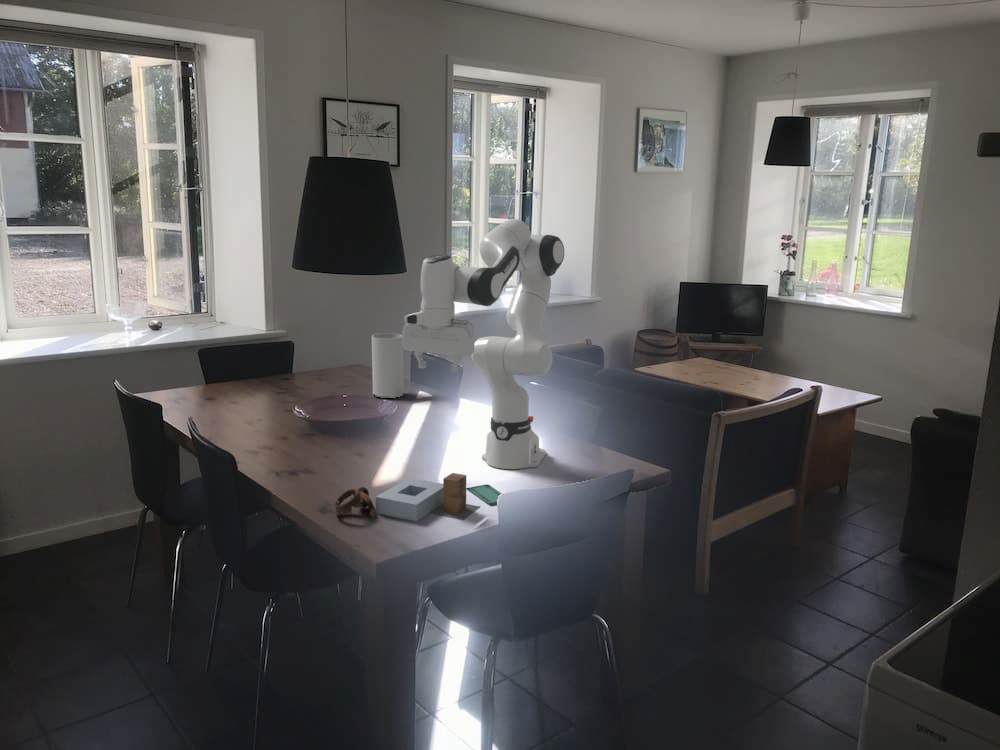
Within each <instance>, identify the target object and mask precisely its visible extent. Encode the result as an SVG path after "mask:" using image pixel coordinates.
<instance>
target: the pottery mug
mask: <svg viewBox="0 0 1000 750" xmlns="http://www.w3.org/2000/svg"><path fill="white" fill-rule="evenodd" d="M369 493H370V492H369V490H368V489H367V488H366V487H364V486H361V487H359V488H356V487H354V488H350V489H348V490H346V491H345V492H343V493H342V494H341V495H339V496H337V498H336V499H337V501H335V502H334V503H333V506H334V509H335V514H336V516H340V517H341V516H344V515H346V514H347V515H348V514H349V515H350V516H351V515H353V513H352V510H353V508H357V509H358V508H359V509H361V508H362V509H365V508H367V509H368V510H369V512H368V513H369V515H370V517H371V518H374V517H376V515H377V513H376V507H375V506H374V504H373V501H372V499H371V498H370V494H369ZM352 495H353V497H352V498H351V499H350V500H349V501H347V502H345V503H344V501H345V500H347V499H348V498H349V497H351V496H352ZM342 503H343V504H342ZM352 507H353V508H352Z"/></svg>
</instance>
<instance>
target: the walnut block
mask: <svg viewBox="0 0 1000 750" xmlns="http://www.w3.org/2000/svg"><path fill="white" fill-rule="evenodd" d="M442 479H443V482H442V484H443V510H444V512H447V513H452V514H459V513H460V512H461V511H463V510H464V509H465V508H466V504H467V489H466V488H467V474H462V473H457V472H456V473H455V472H452V473H450V474H449V475H446V476H445V477H444V478H442Z"/></svg>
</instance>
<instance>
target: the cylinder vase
mask: <svg viewBox="0 0 1000 750" xmlns="http://www.w3.org/2000/svg"><path fill="white" fill-rule="evenodd" d="M371 364H372V365H371V368H372V369H371V370H372V371H371V373H372V395H373V394H375V395H377V396H389V397H395V396H400V395H403V396H404V394H403V393H404V391H405V390H404V348H403V346H402V334H400V333H391V332H389V333H388V332H387V333H385V332H384V333H375V334H372V335H371Z"/></svg>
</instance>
